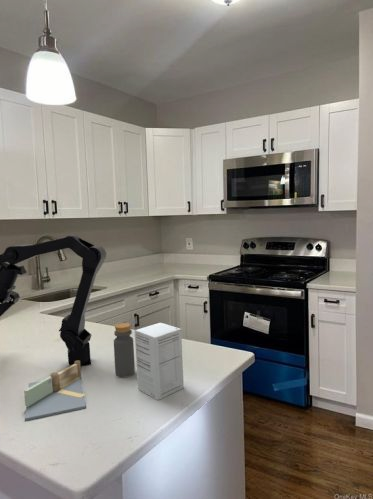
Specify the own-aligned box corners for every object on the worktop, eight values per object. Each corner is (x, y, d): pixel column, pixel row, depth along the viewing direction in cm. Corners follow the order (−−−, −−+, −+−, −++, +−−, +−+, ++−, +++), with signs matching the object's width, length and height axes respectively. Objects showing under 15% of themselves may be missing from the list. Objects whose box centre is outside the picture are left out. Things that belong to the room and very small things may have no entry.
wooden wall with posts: (82, 377, 108) (81, 360, 107) (55, 394, 98) (54, 376, 97) (77, 376, 108) (75, 359, 108) (49, 393, 98) (48, 375, 98)
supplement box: (163, 377, 106) (161, 321, 104) (184, 388, 99) (182, 328, 97) (136, 389, 99) (133, 329, 98) (157, 401, 92) (154, 337, 91)
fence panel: (49, 391, 98) (48, 376, 97) (52, 391, 97) (51, 377, 97) (25, 405, 90) (23, 390, 90) (28, 406, 90) (27, 391, 89)
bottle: (117, 379, 106) (115, 329, 104) (113, 371, 111) (110, 324, 110) (137, 375, 108) (134, 326, 107) (132, 367, 113) (129, 321, 112)
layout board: (80, 375, 109) (80, 373, 109) (87, 407, 90) (87, 405, 90) (29, 385, 104) (29, 382, 104) (24, 421, 85) (24, 418, 85)
